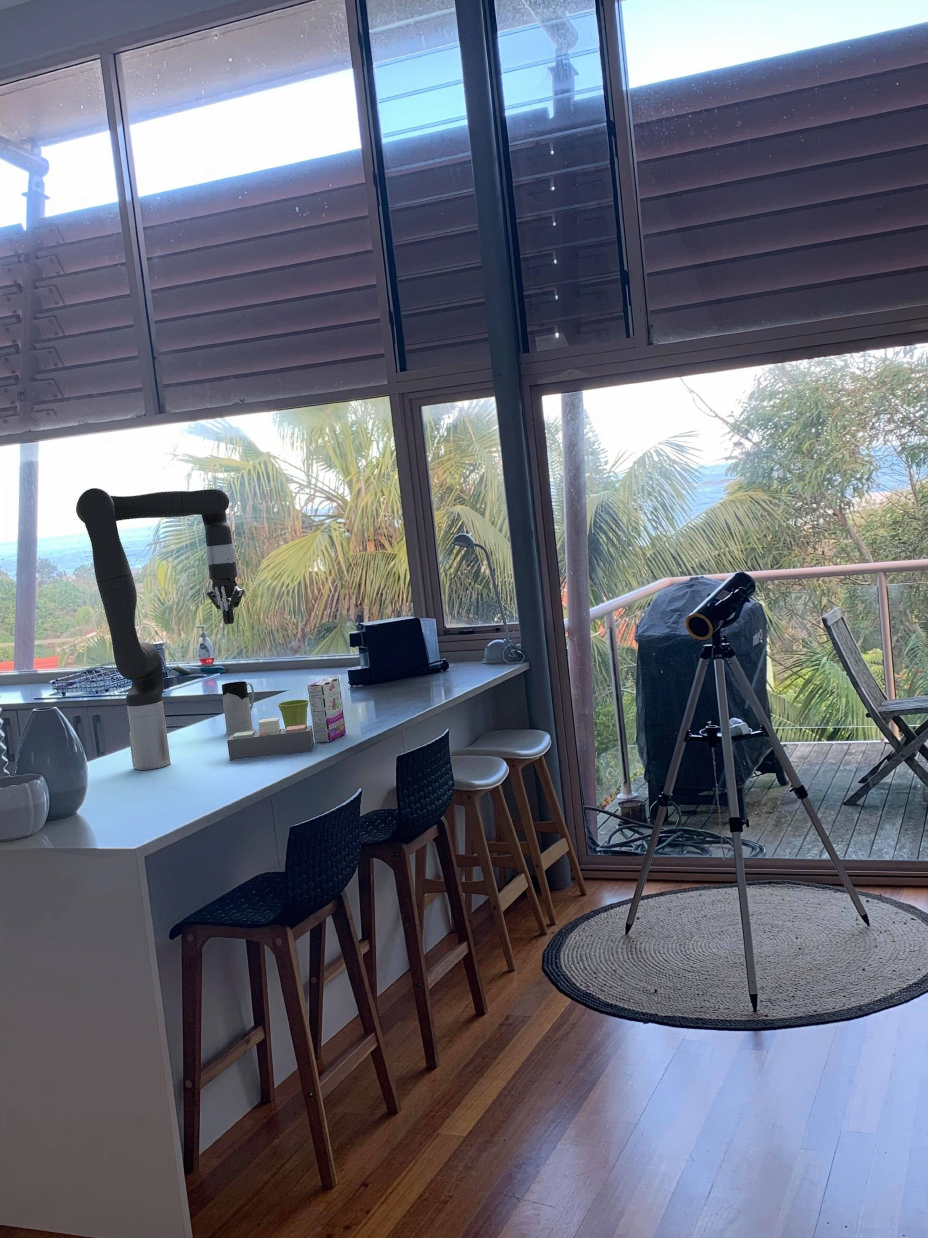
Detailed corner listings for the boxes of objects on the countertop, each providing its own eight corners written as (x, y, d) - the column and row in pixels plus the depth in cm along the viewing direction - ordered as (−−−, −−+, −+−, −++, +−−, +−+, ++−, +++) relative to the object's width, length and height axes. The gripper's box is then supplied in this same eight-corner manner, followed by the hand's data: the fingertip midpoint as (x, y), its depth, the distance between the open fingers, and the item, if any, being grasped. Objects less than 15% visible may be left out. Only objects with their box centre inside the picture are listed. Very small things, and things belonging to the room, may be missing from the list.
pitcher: (219, 735, 344) (213, 686, 343) (245, 726, 358) (239, 678, 356) (244, 734, 341) (238, 685, 340) (269, 725, 354) (263, 677, 353)
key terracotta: (288, 748, 305) (285, 730, 305) (289, 744, 310) (287, 726, 310) (306, 746, 306) (304, 727, 305) (307, 742, 311) (305, 724, 310)
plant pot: (315, 726, 342) (312, 698, 341) (308, 733, 333) (305, 703, 332) (285, 729, 343) (281, 701, 342) (277, 735, 334) (273, 706, 333)
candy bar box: (330, 734, 326) (324, 678, 324) (346, 734, 324) (340, 677, 323) (313, 743, 315) (306, 684, 314) (329, 742, 314) (322, 683, 312)
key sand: (260, 741, 305) (258, 722, 304) (262, 737, 310) (260, 719, 309) (279, 738, 305) (277, 720, 305) (280, 735, 310) (278, 717, 309)
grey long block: (229, 760, 303) (226, 738, 302) (233, 754, 311) (230, 733, 310) (312, 750, 304) (310, 729, 304) (314, 745, 312) (311, 724, 312)
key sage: (235, 754, 304) (233, 736, 304) (237, 751, 309) (235, 733, 309) (254, 752, 305) (252, 734, 304) (256, 748, 310) (254, 730, 309)
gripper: (195, 564, 316) (202, 626, 317) (228, 561, 308) (235, 625, 310) (215, 562, 322) (223, 623, 323) (248, 559, 314) (255, 621, 316)
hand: (229, 623), depth 317 cm, fingers closed
